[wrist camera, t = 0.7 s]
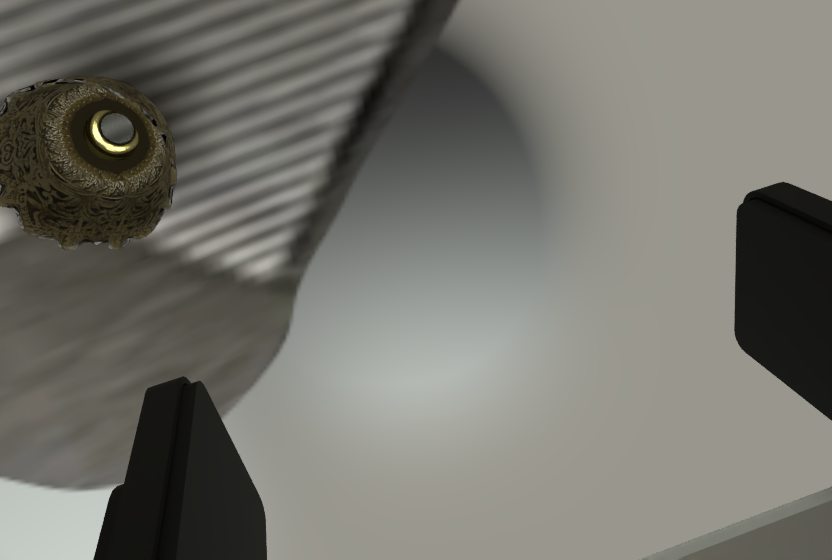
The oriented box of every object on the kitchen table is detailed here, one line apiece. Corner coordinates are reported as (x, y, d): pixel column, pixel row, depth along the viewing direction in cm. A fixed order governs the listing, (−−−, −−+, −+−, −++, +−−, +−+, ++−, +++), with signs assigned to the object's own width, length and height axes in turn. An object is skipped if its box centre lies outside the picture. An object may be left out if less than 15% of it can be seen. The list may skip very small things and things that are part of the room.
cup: (189, 61, 33) (171, 87, 26) (194, 197, 36) (179, 253, 29) (28, 48, 31) (-37, 73, 24) (48, 192, 35) (-5, 251, 28)
